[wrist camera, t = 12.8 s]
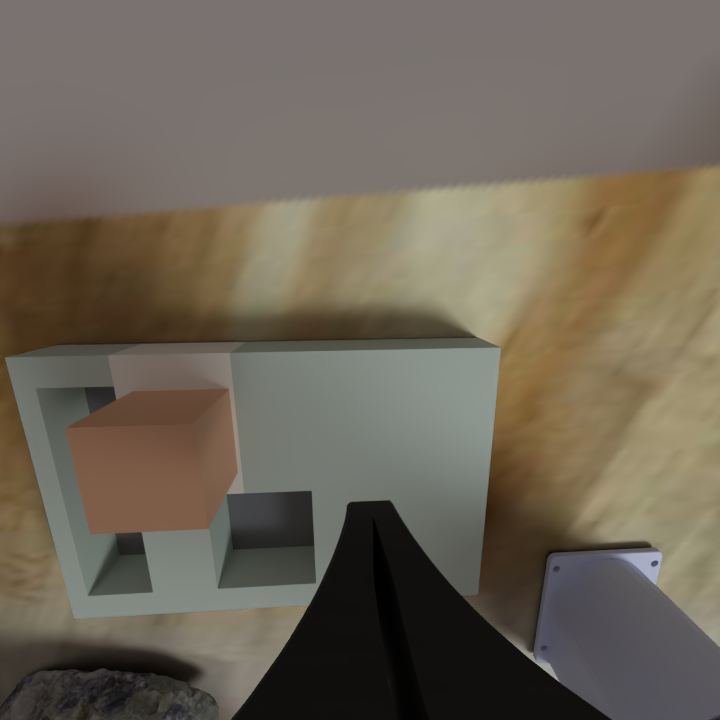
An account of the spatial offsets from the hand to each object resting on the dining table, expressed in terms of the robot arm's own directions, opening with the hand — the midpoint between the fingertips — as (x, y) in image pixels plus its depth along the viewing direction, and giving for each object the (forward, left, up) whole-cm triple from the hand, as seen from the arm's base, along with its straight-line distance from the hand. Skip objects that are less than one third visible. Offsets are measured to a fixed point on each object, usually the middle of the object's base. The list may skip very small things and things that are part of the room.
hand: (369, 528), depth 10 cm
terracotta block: (0, +8, -7) cm, 11 cm away
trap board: (-3, +5, -10) cm, 11 cm away
